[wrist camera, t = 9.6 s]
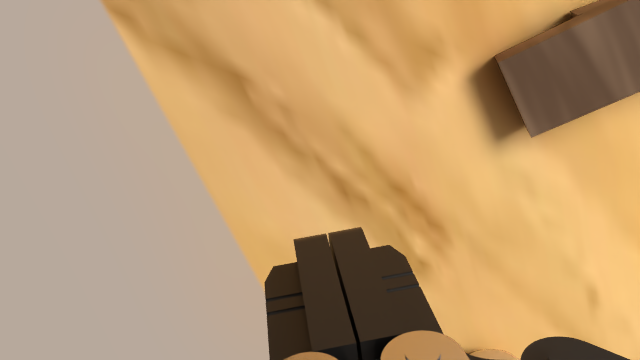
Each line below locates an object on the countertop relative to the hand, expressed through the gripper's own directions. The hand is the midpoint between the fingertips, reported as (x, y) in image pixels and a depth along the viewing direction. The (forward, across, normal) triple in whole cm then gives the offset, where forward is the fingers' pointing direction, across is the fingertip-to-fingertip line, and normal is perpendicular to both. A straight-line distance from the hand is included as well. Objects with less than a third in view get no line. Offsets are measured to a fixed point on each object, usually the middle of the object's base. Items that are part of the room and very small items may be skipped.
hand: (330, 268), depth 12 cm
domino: (+20, -14, +4) cm, 25 cm away
